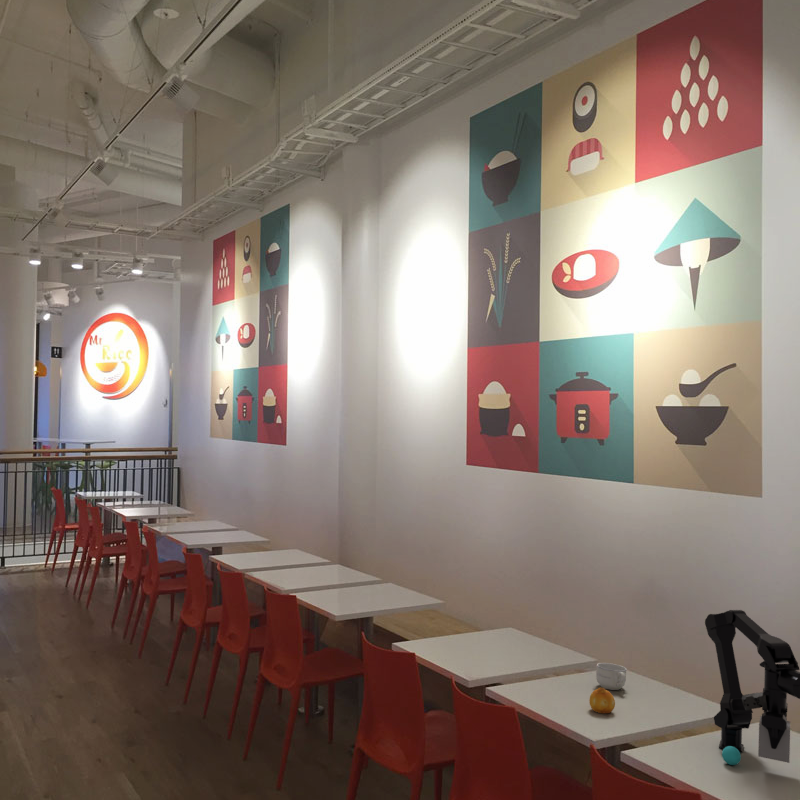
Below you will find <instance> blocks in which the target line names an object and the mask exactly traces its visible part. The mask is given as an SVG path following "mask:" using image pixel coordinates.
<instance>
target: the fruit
mask: <svg viewBox="0 0 800 800" xmlns="http://www.w3.org/2000/svg"><path fill="white" fill-rule="evenodd" d="M588 701H589V706H590V708H591V710H593V711H594V712H595V713H597V712H598V713H599V714H610V713H611V712H613V711H614V709H615V707H616V700H615V697H614V695H613V694H612V693H611V692H610V691H609V690H608V689H605V688H603V687H598V688H597V689H594V690H592V692H591V694H590V695H589V700H588Z"/></svg>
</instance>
